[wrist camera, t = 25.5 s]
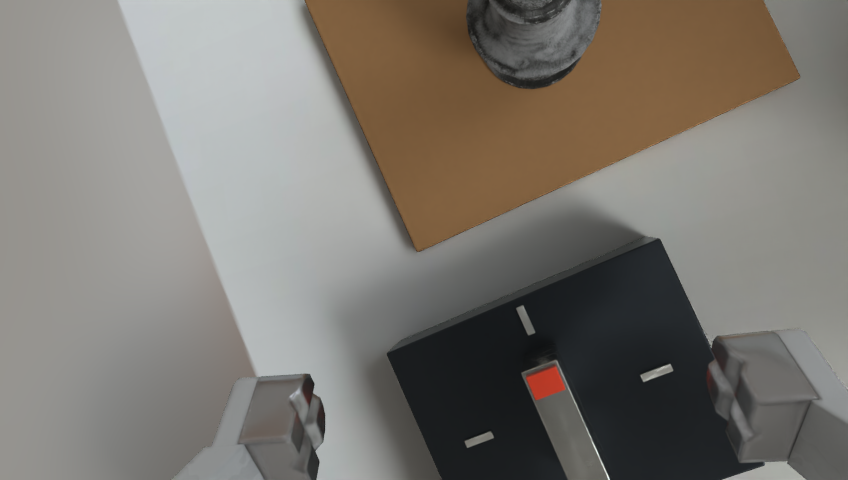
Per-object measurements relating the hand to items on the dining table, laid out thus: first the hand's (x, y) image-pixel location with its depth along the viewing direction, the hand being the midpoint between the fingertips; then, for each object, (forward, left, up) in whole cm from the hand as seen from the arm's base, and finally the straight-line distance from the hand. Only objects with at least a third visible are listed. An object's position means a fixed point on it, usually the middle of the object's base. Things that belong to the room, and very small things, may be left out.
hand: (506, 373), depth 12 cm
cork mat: (+5, +11, -19) cm, 22 cm away
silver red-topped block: (-1, -6, -16) cm, 17 cm away
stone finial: (+5, +11, -18) cm, 22 cm away
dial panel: (-1, -6, -19) cm, 19 cm away
